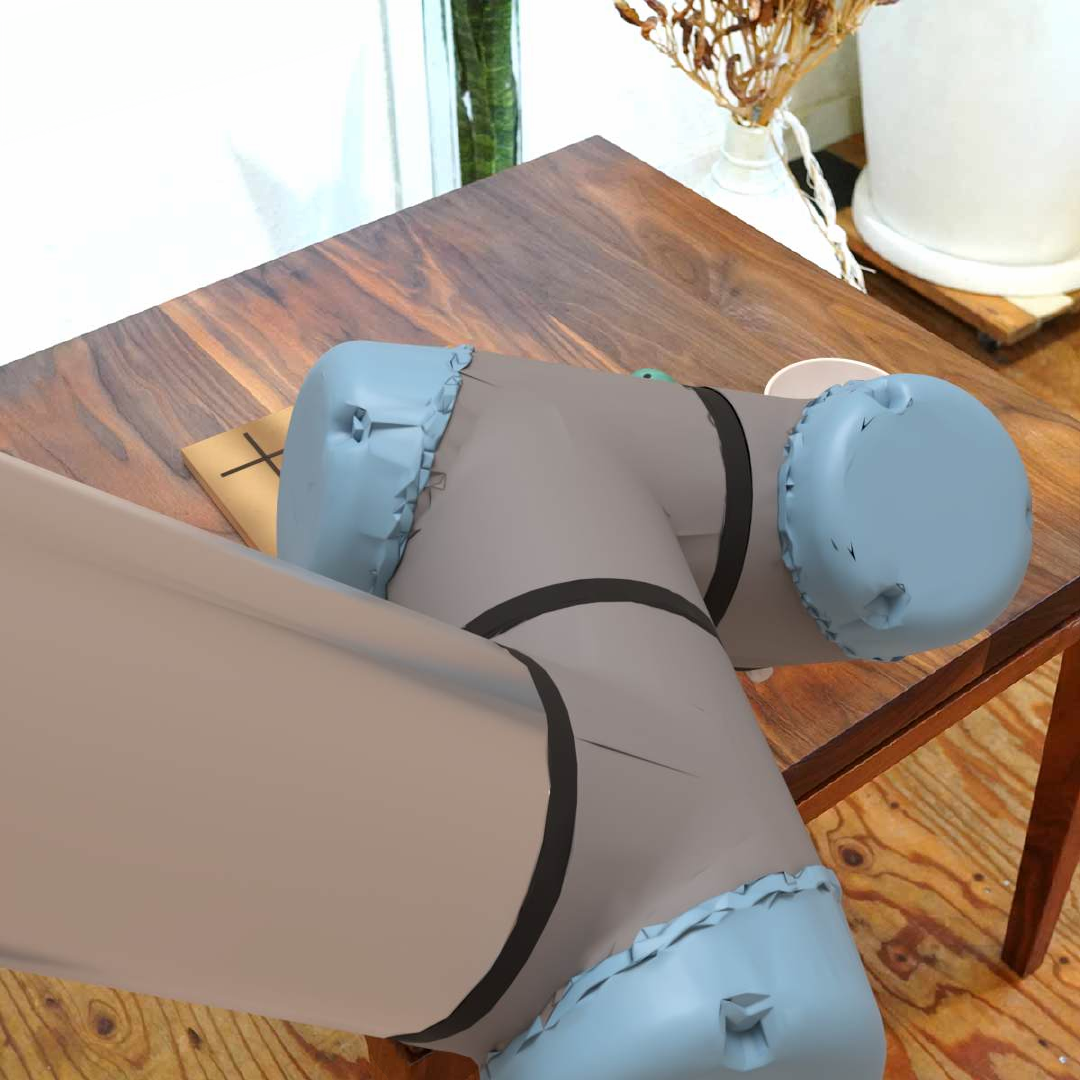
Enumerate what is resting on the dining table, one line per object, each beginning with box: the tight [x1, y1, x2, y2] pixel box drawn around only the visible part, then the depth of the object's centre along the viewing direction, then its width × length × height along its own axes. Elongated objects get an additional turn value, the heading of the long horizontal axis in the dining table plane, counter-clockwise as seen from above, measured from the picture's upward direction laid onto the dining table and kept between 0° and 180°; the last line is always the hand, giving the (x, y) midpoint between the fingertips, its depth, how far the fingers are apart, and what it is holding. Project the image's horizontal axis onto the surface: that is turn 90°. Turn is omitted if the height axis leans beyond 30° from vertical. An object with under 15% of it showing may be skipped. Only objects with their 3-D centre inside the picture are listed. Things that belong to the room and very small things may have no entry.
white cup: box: [763, 357, 890, 399], centre depth 83 cm, size 8×8×10 cm
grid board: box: [180, 343, 458, 558], centre depth 90 cm, size 20×20×1 cm
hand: (464, 624), depth 72 cm, fingers closed on coffee box, 11 cm apart
